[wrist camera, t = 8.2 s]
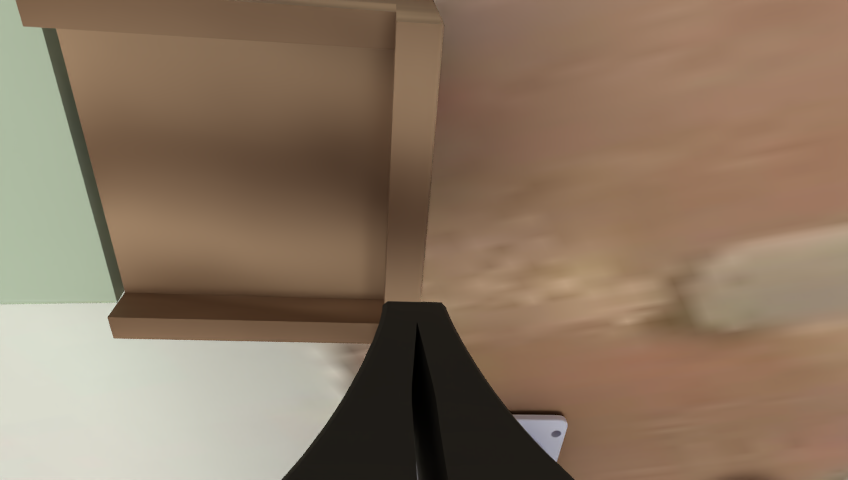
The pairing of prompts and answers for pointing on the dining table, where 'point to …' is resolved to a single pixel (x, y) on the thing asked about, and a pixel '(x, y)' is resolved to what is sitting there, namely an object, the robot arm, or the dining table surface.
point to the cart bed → (256, 158)
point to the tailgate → (47, 179)
